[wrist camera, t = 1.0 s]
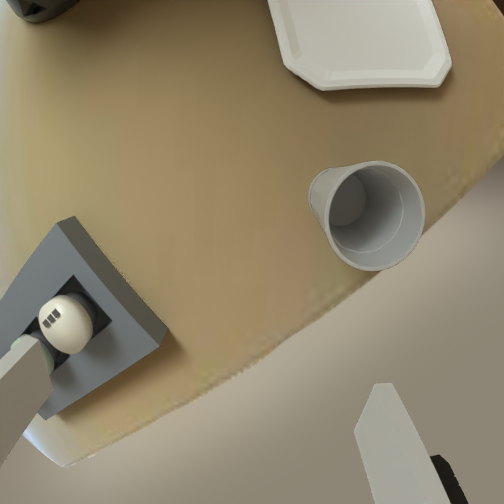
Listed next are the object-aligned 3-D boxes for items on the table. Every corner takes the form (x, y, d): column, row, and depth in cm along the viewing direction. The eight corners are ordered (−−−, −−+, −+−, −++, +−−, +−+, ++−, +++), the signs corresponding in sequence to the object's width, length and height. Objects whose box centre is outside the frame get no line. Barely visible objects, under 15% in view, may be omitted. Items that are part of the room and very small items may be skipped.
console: (-11, 332, 39) (-24, 342, 35) (74, 215, 33) (56, 222, 29) (54, 406, 43) (45, 420, 39) (168, 328, 37) (160, 346, 33)
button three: (51, 302, 33) (30, 321, 28) (76, 275, 32) (54, 292, 27) (84, 341, 34) (66, 363, 29) (112, 317, 33) (94, 339, 28)
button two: (22, 336, 35) (4, 353, 30) (39, 316, 34) (19, 334, 29) (51, 369, 36) (35, 389, 31) (71, 352, 35) (53, 373, 30)
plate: (288, 98, 30) (290, 94, 27) (251, -46, 24) (251, -56, 22) (450, 91, 28) (459, 88, 26) (404, -41, 22) (410, -48, 20)
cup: (362, 239, 34) (409, 278, 22) (293, 226, 33) (313, 262, 22) (377, 169, 31) (435, 177, 20) (307, 152, 31) (337, 148, 19)
